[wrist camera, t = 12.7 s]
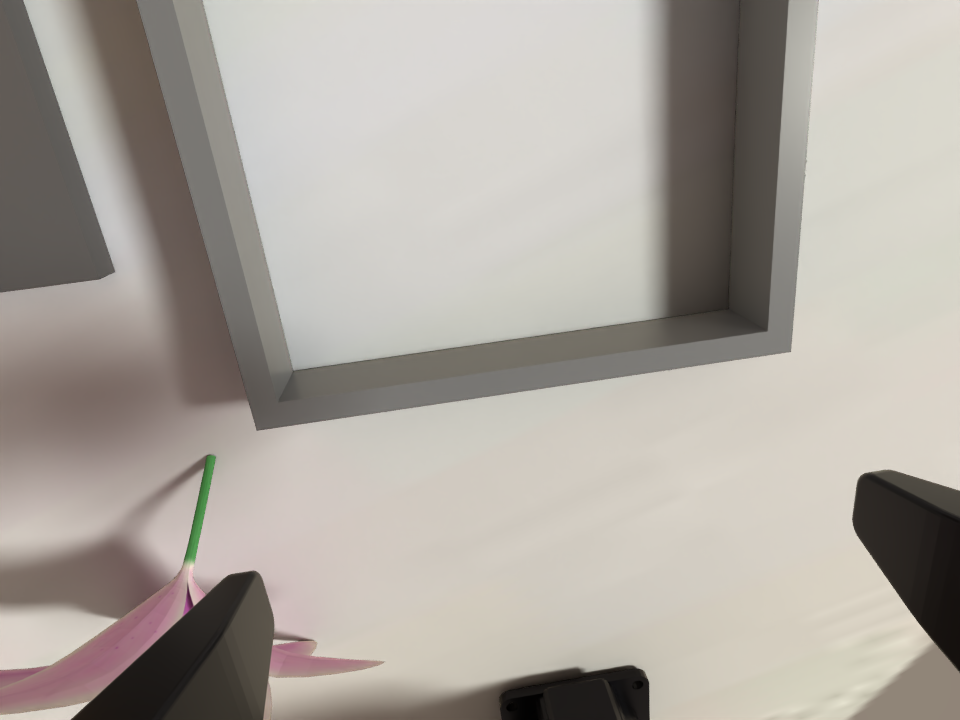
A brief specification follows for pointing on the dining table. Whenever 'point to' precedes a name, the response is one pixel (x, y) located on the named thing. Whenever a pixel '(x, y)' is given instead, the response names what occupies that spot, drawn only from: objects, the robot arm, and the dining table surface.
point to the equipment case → (522, 362)
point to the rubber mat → (40, 174)
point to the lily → (147, 644)
